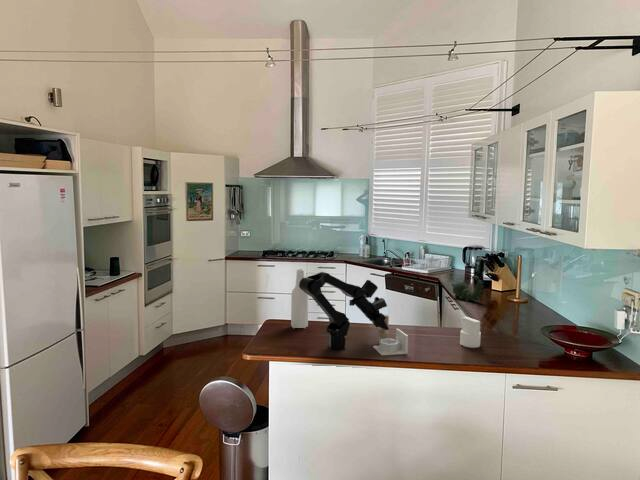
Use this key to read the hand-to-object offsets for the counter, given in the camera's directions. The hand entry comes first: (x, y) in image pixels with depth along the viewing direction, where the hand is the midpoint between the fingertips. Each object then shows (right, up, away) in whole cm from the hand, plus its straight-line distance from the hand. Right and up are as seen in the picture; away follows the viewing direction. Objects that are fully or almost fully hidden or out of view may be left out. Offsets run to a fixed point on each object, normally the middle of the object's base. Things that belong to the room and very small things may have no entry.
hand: (386, 327), depth 212 cm
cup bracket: (-1, -8, -12) cm, 14 cm away
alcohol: (-42, -4, +22) cm, 48 cm away
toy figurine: (+67, +1, +93) cm, 115 cm away
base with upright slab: (+39, -8, -1) cm, 40 cm away
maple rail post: (-2, -7, 0) cm, 7 cm away
